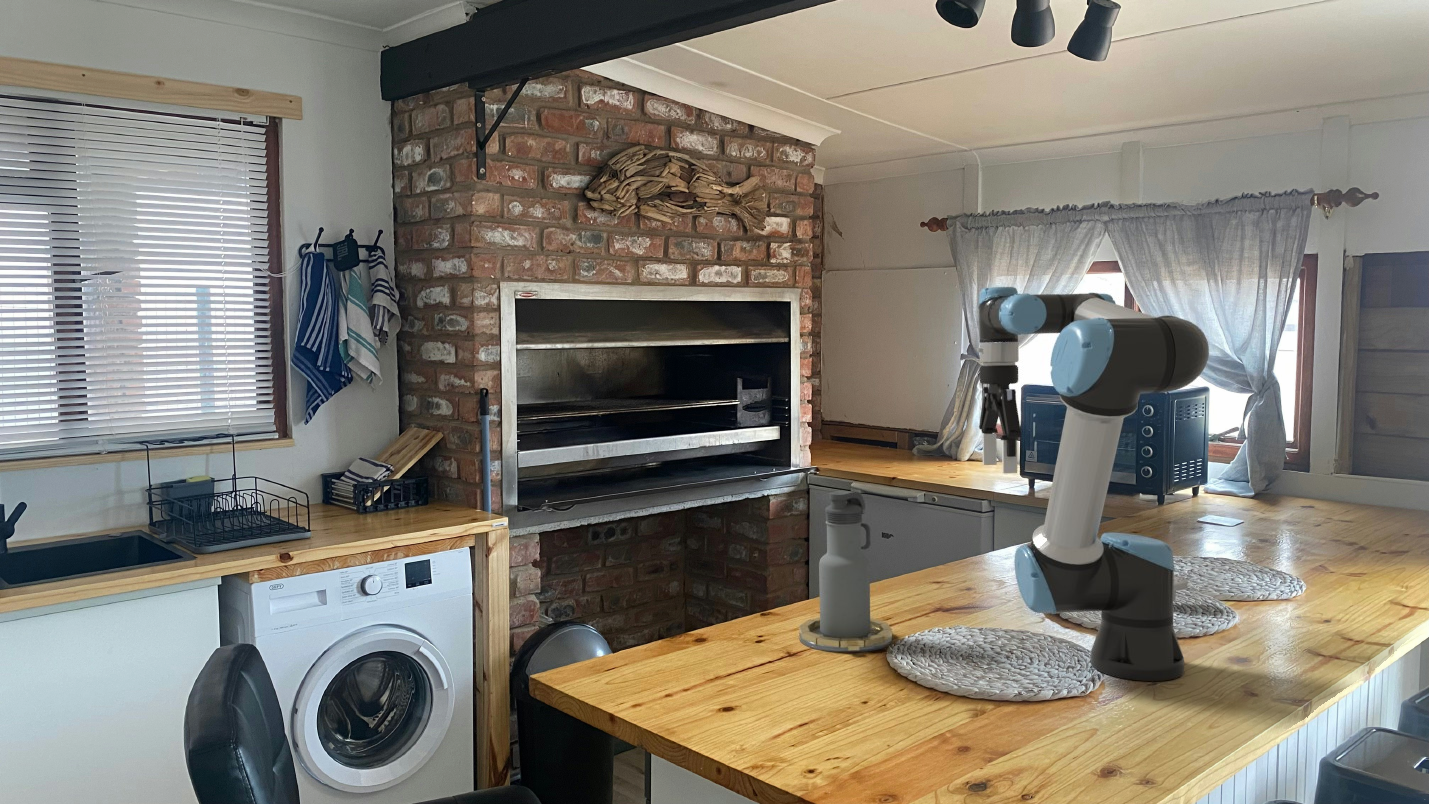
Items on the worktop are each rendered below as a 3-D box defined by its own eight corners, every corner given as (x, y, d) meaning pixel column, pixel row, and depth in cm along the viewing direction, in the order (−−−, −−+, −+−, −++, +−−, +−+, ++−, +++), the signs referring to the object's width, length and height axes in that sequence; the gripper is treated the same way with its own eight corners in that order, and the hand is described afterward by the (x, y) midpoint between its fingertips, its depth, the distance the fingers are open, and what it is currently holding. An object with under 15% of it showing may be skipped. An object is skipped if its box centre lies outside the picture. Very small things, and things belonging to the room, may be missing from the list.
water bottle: (838, 624, 206) (836, 487, 205) (880, 631, 200) (879, 490, 198) (810, 635, 198) (808, 493, 197) (853, 644, 192) (851, 497, 190)
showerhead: (1132, 568, 222) (1181, 570, 220) (1132, 601, 222) (1181, 603, 220) (1141, 579, 212) (1192, 580, 210) (1141, 613, 213) (1192, 614, 211)
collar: (902, 654, 189) (902, 642, 189) (805, 657, 188) (805, 645, 188) (881, 622, 210) (880, 611, 210) (794, 624, 210) (794, 614, 210)
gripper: (963, 363, 217) (964, 462, 218) (998, 365, 192) (999, 477, 193) (998, 362, 217) (999, 461, 219) (1038, 365, 192) (1038, 476, 194)
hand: (999, 469), depth 206 cm, fingers open, 13 cm apart
